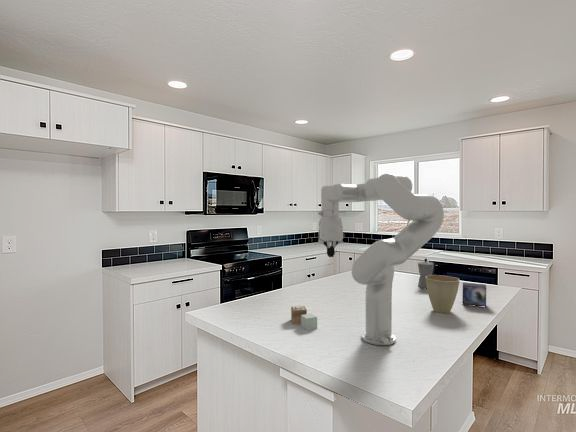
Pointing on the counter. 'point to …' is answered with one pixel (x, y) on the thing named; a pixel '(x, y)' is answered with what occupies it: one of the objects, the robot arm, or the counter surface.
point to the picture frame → (474, 294)
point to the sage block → (309, 321)
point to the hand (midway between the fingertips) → (330, 256)
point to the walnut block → (297, 314)
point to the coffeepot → (425, 272)
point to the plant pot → (442, 292)
